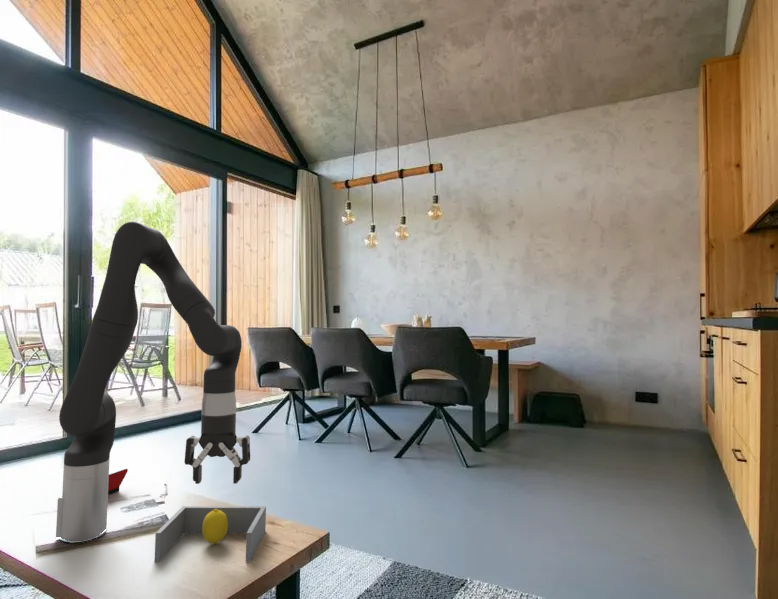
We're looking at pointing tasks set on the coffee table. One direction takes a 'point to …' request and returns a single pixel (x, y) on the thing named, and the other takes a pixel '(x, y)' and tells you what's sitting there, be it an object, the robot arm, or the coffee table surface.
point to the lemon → (215, 526)
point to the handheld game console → (115, 481)
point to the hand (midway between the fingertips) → (217, 482)
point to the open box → (192, 522)
